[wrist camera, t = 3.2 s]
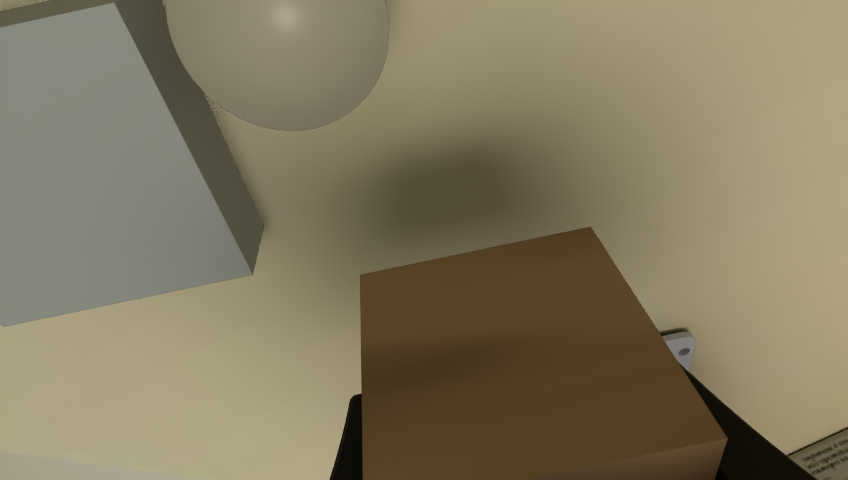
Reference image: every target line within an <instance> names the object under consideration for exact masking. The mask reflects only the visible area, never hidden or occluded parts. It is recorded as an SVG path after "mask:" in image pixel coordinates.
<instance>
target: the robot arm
mask: <svg viewBox="0 0 848 480" xmlns="http://www.w3.org/2000/svg"><path fill="white" fill-rule="evenodd" d="M662 338H663V339H664V341H665V342H666V344H667V346H668V347H669V349H670V350H671V352H672V353H673V355H674V356H675V358H676V359H677V361H678V363H679V364H680V366H681V367H682V369H683V370H684V372H685V373H686V375H687V377H688V378H689V380H690V381H691V383H692V384H693V386H694V387H695V389H696V390H697V392H698V394H699V395H700V397H701V398H702V400H703V401H704V403H705V404H706V406H707V407H708V409H709V411H710V412H711V414H712V415H713V417H714V418H715V420H716V421H717V423H718V424H719V426H720V428H721V429H722V431H723V432H724V434H725V435H726V437H727V438H728V439H727V442H726V445H725V449H724V452H723V455H722V458H721V461H720V464H719V467H718V471H717V474H716V477H715V480H818V479H816V478H815V477H813V476H812V475H811V474H810V473H808V472H807V471H806V470H804V469H803V468H802V467H800V466H799V465H798V464H796V463H795V462H794V461H793V460H791V459H790V458H789V457H788V456H786V455H785V454H784V453H783V452H781V451H780V450H779V449H777V448H776V447H775V446H774V445H772V444H771V443H770V442H769V441H767V440H766V439H765V438H764V437H763V436H761V435H760V434H759V433H758V432H757V431H755V430H754V429H753V428H752V427H751V426H749V425H748V424H747V423H746V422H745V421H744V420H742V419H741V418H740V417H739V416H738V415H737V414H735V413H734V412H733V411H732V410H731V409H730V408H728V407H727V406H726V405H725V404H724V403H723V402H721V401H720V400H719V399H718V398H717V397H716V396H715V395H714V394H712V393H711V392H710V391H709V390H708V389H707V388H706V387H705V386H704V385H703V384H701V383H700V382H699V381H698V380H697V379H696V378H695V377H694V376H693V375H692V374H691V373H690V372H689V370H690V366H691V361H692V357H693V352H694V348H695V343H696V339H695V338H694V337H693V335H692V334H691V333H690V332H680V333H675V334H670V335H665V336H662ZM330 480H363V451H362V394H358V395H354V396H353V397H352V398H351V399H350V403H349V408H348V413H347V417H346V422H345V426H344V430H343V434H342V438H341V442H340V446H339V449H338V453H337V457H336V460H335V464H334V467H333V470H332V473H331V476H330Z"/></svg>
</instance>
